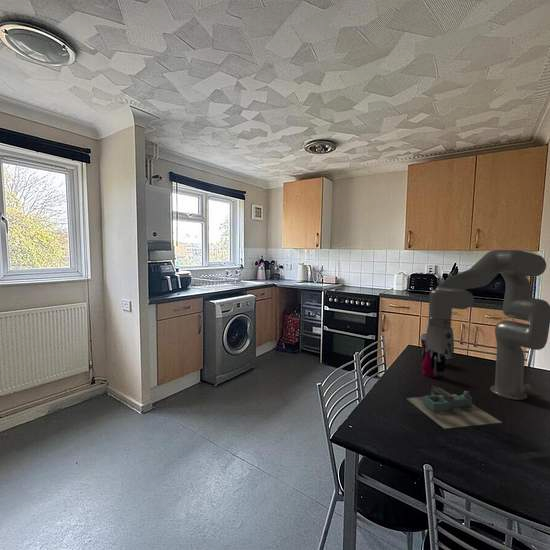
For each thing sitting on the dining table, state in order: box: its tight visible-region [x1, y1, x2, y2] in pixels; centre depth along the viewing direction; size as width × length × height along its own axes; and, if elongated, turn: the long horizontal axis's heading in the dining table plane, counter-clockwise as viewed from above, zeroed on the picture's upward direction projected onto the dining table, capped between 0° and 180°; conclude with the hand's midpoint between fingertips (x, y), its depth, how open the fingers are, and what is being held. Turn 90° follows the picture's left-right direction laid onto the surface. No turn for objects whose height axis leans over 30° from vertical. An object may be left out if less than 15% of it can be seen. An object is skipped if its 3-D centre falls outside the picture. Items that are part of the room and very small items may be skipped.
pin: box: [434, 356, 442, 377], centre depth 116 cm, size 3×3×7 cm
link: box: [422, 390, 473, 412], centre depth 118 cm, size 18×6×5 cm, turn 99°
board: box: [406, 384, 503, 430], centre depth 116 cm, size 23×22×7 cm
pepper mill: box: [421, 340, 437, 378], centre depth 152 cm, size 7×7×20 cm
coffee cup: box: [419, 333, 427, 362], centre depth 171 cm, size 10×10×15 cm
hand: (437, 369), depth 116 cm, fingers closed on pin, 2 cm apart
